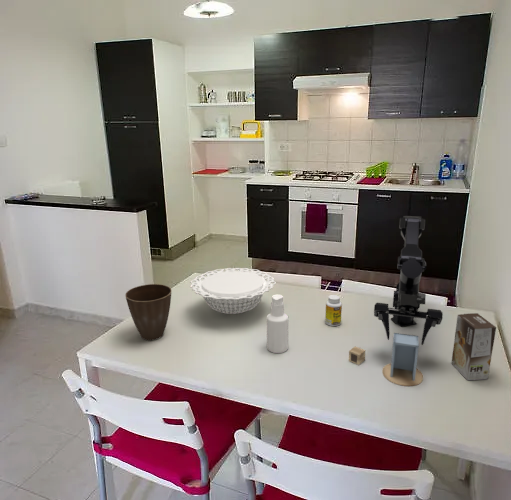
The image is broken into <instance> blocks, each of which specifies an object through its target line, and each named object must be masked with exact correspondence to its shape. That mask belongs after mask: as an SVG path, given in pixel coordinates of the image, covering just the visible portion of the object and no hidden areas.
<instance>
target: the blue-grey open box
mask: <svg viewBox="0 0 511 500" xmlns="http://www.w3.org/2000/svg"><path fill="white" fill-rule="evenodd" d="M392 339H393V340H392V352H391V360H390V361H391V373H390V377H393V368H397V369H403V370H409V371H412V380H413V381H415V375H416V368H417V365H418V356H419V336H418V335H413V334H412V335H411V334H405V333H399V332H398V333H397V332H393V338H392Z"/></svg>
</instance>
